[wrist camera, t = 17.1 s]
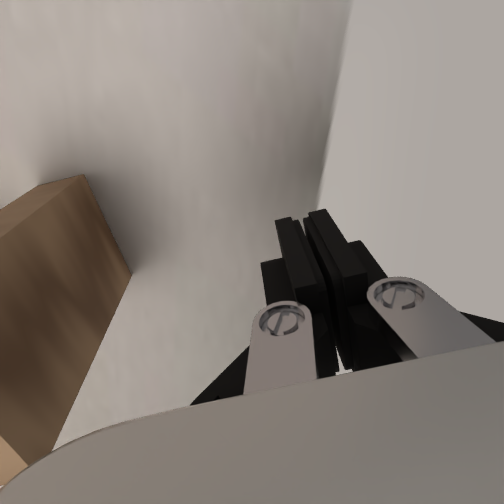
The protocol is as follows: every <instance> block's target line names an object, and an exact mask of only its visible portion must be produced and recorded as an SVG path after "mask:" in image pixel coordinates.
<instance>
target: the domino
mask: <svg viewBox="0 0 504 504" xmlns="http://www.w3.org/2000/svg"><path fill="white" fill-rule="evenodd" d="M131 276H132V275H131V273H130V271H129V269H128V267H127V265H126V263H125V261H124V258H123V256H122V254H121V252H120V250H119V248H118V246H117V244H116V242H115V239H114V237H113V235H112V233H111V231H110V229H109V227H108V225H107V223H106V220H105V218H104V216H103V214H102V212H101V210H100V208H99V206H98V203H97V201H96V199H95V197H94V195H93V193H92V191H91V189H90V187H89V184H88V182H87V180H86V178H85V176H84V174H82V175H78V176H74V177H70V178H66V179H63V180H59V181H55V182H51V183H47V184H43V185H39V186H36V187H35V188H33V189H32V190H30V191H29V192H27V193H25V194H24V195H22V196H21V197H19V198H18V199H16V200H15V201H13V202H11V203H10V204H8V205H7V206H5V207H4V208H2V209H1V210H0V486H1V485H5V484H6V483H7V482H8V481H9V480H11V479H12V478H13V477H14V476H15V475H17V474H18V473H19V472H21V471H22V470H23V469H25V468H26V467H27V466H29V465H30V464H32V463H34V462H35V461H37V460H38V459H40V458H41V457H43V456H45V455H46V454H48V453H50V452H51V451H52V449H53V447H54V445H55V443H56V441H57V438H58V436H59V434H60V432H61V430H62V427H63V425H64V423H65V421H66V419H67V416H68V414H69V412H70V410H71V408H72V406H73V403H74V401H75V399H76V397H77V395H78V392H79V390H80V388H81V386H82V384H83V381H84V379H85V377H86V375H87V373H88V371H89V368H90V366H91V364H92V362H93V360H94V357H95V355H96V353H97V351H98V349H99V346H100V344H101V342H102V340H103V338H104V336H105V333H106V331H107V329H108V327H109V325H110V322H111V320H112V318H113V316H114V314H115V311H116V309H117V307H118V305H119V303H120V301H121V298H122V296H123V294H124V292H125V290H126V287H127V285H128V283H129V281H130V279H131Z"/></svg>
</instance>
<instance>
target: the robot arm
mask: <svg viewBox="0 0 504 504" xmlns="http://www.w3.org/2000/svg"><path fill="white" fill-rule="evenodd" d="M308 215H309V217H307V218H303V223H304V228H305V234H306V236H305V234H304V231H303V229H302V227H301V224H300V222H299V220H294V221H292V218H291V217H287V218H283V219H279V220H275V225H276V229H277V234H278V239H279V243H280V248H281V252H282V257H283V258H279V259H274V260H270V261H266V262H261V270H262V277H263V283H264V290H265V297H266V303H267V306H266V307H264V308H263V309H262V310H260V311H259V312H258V314H257V315H256V316H255V318H254V321H253V325H252V332H251V340H250V346H249V347H248V348H246V349H245V350H244V351H243V352H242V353H241V354H240V355H239V356H238V357H237V358H236V359H235V360H234V361H233V362H232V363H231V364H230V365H229V366H228V367H227V368H226V369H225V370H224V371H223V372H222V373H221V374H220V375H219V376H218V377H217V378H216V379H215V380H214V381H213V382H212V383H211V384H210V385H209V386H208V387H207V388H206V389H205V390H204V391H203V392H202V393H201V394H200V395H199V396H198V397H197V398H196V399H195V400H194V401H193V402H192V403H191V405H190V406H187V407H182V408H178V409H173V410H169V411H165V412H161V413H157V414H153V415H149V416H145V417H141V418H137V419H132V420H128V421H124V422H121V423H118V424H115V425H112V426H109V427H105V428H102V429H99V430H96V431H94V432H92V433H89V434H87V435H85V436H82V437H80V438H77V439H75V440H73V441H70V442H68V443H67V444H65V445H63V446H61V447H59V448H57V449H56V450H54V451H52V452H50V453H48V454H46V455H45V456H43V457H41V458H40V459H38V460H37V461H35V462H34V463H32V464H30V465H29V466H27V467H26V468H25V469H23V470H22V471H21V472H19V473H18V474H17V475H15V476H14V477H13V478H12V479H11V480H9V481H8V482H7V483H6V484H5V485H4V486H3V487H2V488H1V489H0V504H504V323H502V322H498V321H494V320H491V319H487V318H483V317H479V316H475V315H471V314H467V313H463V312H459V311H457V310H456V309H455V308H454V307H452V306H451V305H450V304H449V303H448V302H446V301H445V300H444V299H443V298H441V297H440V296H439V295H438V294H437V293H435V292H434V291H433V290H431V289H430V288H429V287H428V286H427V285H425V284H424V283H422V282H420V281H418V280H415V279H412V278H407V277H389V278H388V277H387V275H386V274H385V273H384V272H383V270H382V269H381V267H380V266H379V264H378V263H377V262H376V260H375V259H374V258H373V256H372V255H371V254H370V252H369V251H368V249H367V248H366V247H365V245H364V244H363V243H362V242H361V241H360V240H358V241H354V242H350V243H348V242H347V241H346V239H345V238H344V236H343V235H342V233H341V232H340V230H339V229H338V227H337V225H336V224H335V222H334V221H333V219H332V218H331V216H330V215H329V213H328V212H327V210H326V209H322V210H317V211H313V212H309V213H308ZM336 348H337V350H338V353H339V356H340V358H341V361H342V363H343V366H344V369H345V370H348V369H352V371H353V372H350V373H345V374H341V375H336V373H335V372H339V364H338V358H337V351H336Z"/></svg>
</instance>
